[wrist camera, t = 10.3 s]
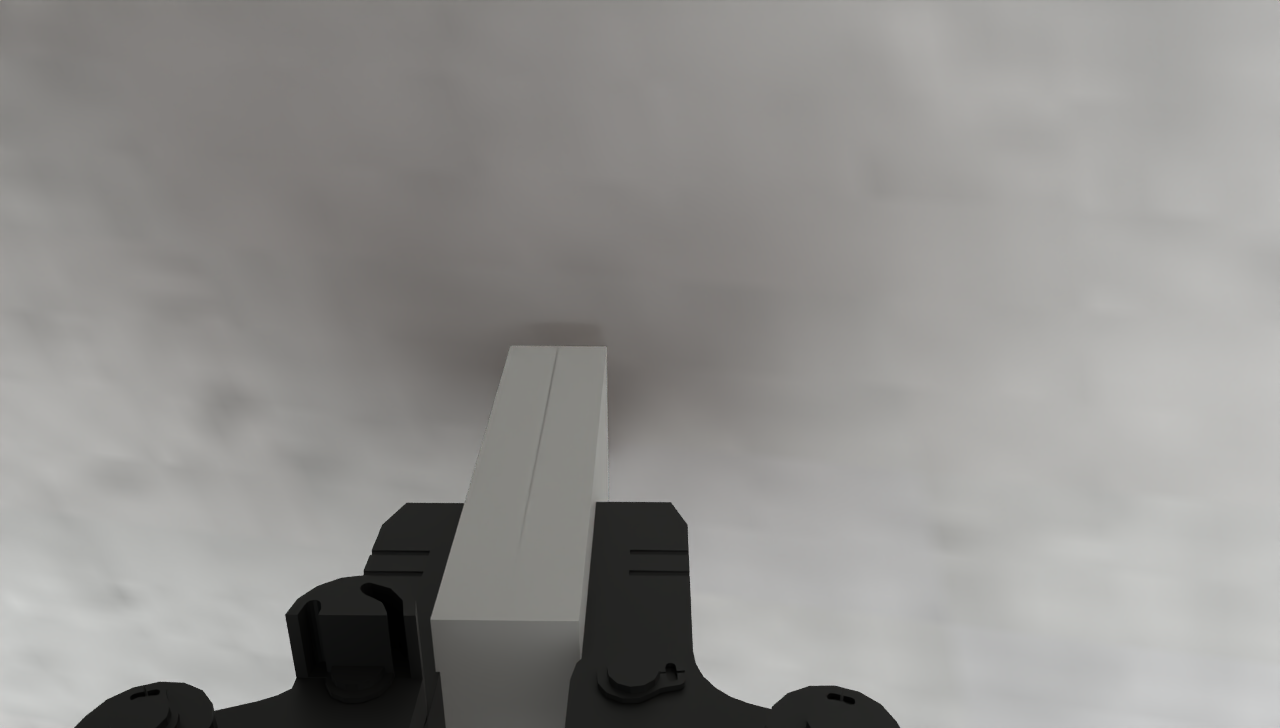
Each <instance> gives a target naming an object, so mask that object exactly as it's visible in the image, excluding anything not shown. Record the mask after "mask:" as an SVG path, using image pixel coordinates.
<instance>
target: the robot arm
mask: <svg viewBox="0 0 1280 728" xmlns="http://www.w3.org/2000/svg"><path fill="white" fill-rule="evenodd" d="M608 501H609V466H608V399H607V346H510V349H509V352H508V356H507V359H506V363H505V366H504V369H503V373H502V376H501V380H500V383H499V387H498V390H497V393H496V397H495V400H494V404H493V407H492V410H491V414H490V417H489V421H488V424H487V428H486V431H485V434H484V438H483V441H482V445H481V448H480V452H479V455H478V458H477V462H476V465H475V469H474V472H473V475H472V479H471V482H470V486H469V489H468V493H467V496H466V499H465V503H406V504H405V505H404V506H403V507H401V508H400V509H399V510H398V511H397V512H396V513H395V514H394V515H393V516H392V517H390V518H389V519H388V520H387V521H386V522H385V523H384V524H383V525H382V527H381V529H380V532H379V534H378V537H377V539H376V541H375V544H374V546H373V549H372V555H370V556H369V559H368V561H367V564H366V566H365V569H364V575H363V576H354V577H345V578H339V579H336V580H334V581H331V582H328V583H325V584H322V585H319V586H317V587H315V588H314V589H312V590H311V591H309V592H307V593H306V594H304V595H303V596H301V597H300V598H298V599H297V600H296V602H295V603H294V604H293V605H292V607H291V608H290V609H289V610H288V612H287V613H286V614H285V616H286V622H287V627H288V633H289V638H290V644H291V650H292V655H293V661H294V666H295V672H296V677H297V678H296V680H295V683H294V685H293V687H292V689H290V690H288V691H286V692H284V693H281V694H279V695H277V696H274V697H270V698H267V699H264V700H260V701H257V702H252V703H248V704H243V705H239V706H235V707H230V708H226V709H221V710H217V711H214V708H213V704H212V702H211V701H210V700H209V698H208V697H207V696H206V694H205V693H204V692H203V690H200V689H198V688H196V687H193V686H191V685H188V684H186V683H177V682H157V683H152V684H148V685H143V686H138V687H134V688H131V689H129V690H127V691H125V692H122V693H120V694H118V695H116V696H114V697H112V698H109V699H107V700H106V701H105V702H103V703H102V704H101V705H99V706H98V707H97V708H96V709H94V710H93V711H92V712H90V713H89V714H88V715H86V716H85V717H84V718H83V719H82V720H81V721H80V722H79V723H78V724H77V725H76V726H75V727H74V728H900V727H899V725H898V723H897V722H896V721H895V719H894V718H893V717H892V716H891V715H890V714H889V713H888V712H887V711H886V709H885V708H884V707H883V706H882V705H881V704H879V703H878V702H876V701H874V700H872V699H871V698H869V697H867V696H865V695H864V694H862V693H860V692H858V691H854V690H850V689H846V688H842V687H838V686H808V687H805V688H802V689H799V690H796V691H793V692H790V693H787V694H786V695H785V696H784V697H783V698H782V699H781V700H779V701H778V702H777V703H776V704H775V705H774V706H772V709H768V708H764V707H760V706H757V705H753V704H749V703H746V702H743V701H741V700H738V699H735V698H732V697H730V696H728V695H727V694H725V693H723V692H722V691H720V690H718V689H717V688H715V687H714V686H713V685H712V684H711V683H710V682H709V681H708V680H707V679H705V678H704V677H703V675H702V674H701V672H700V670H699V669H698V667H697V665H696V663H695V659H694V654H693V643H692V620H691V596H690V576H689V555H688V551H689V550H688V527H687V524H686V522H685V521H684V519H683V518H682V517H681V515H680V514H679V513H678V511H677V510H676V509H675V507H674V506H673V505H672V503H671V502H608Z"/></svg>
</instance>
